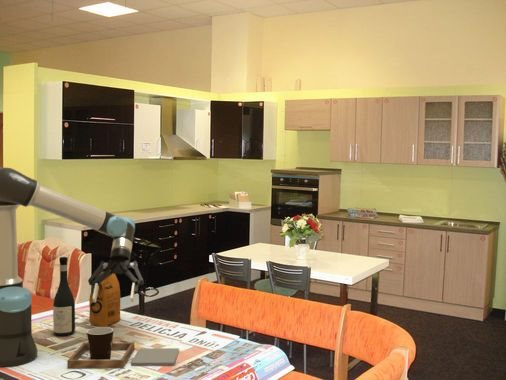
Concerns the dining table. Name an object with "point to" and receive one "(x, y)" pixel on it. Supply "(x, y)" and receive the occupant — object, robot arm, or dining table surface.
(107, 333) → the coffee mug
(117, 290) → the coffee package
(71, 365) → the walnut collar
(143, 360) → the slate coaster
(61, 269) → the wine bottle
